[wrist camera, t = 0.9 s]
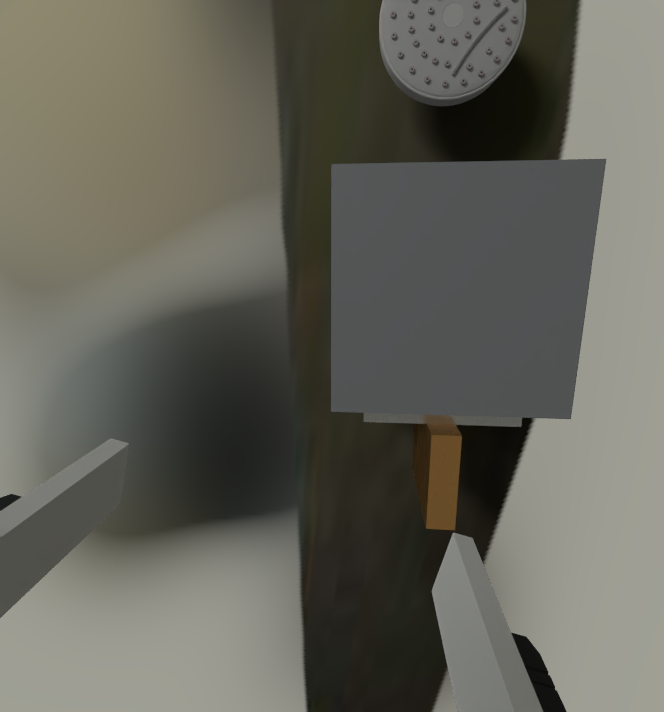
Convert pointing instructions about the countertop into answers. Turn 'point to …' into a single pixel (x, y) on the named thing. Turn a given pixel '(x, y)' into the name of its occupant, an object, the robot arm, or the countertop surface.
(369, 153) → the countertop surface
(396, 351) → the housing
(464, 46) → the showerhead
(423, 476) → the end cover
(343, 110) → the countertop surface
